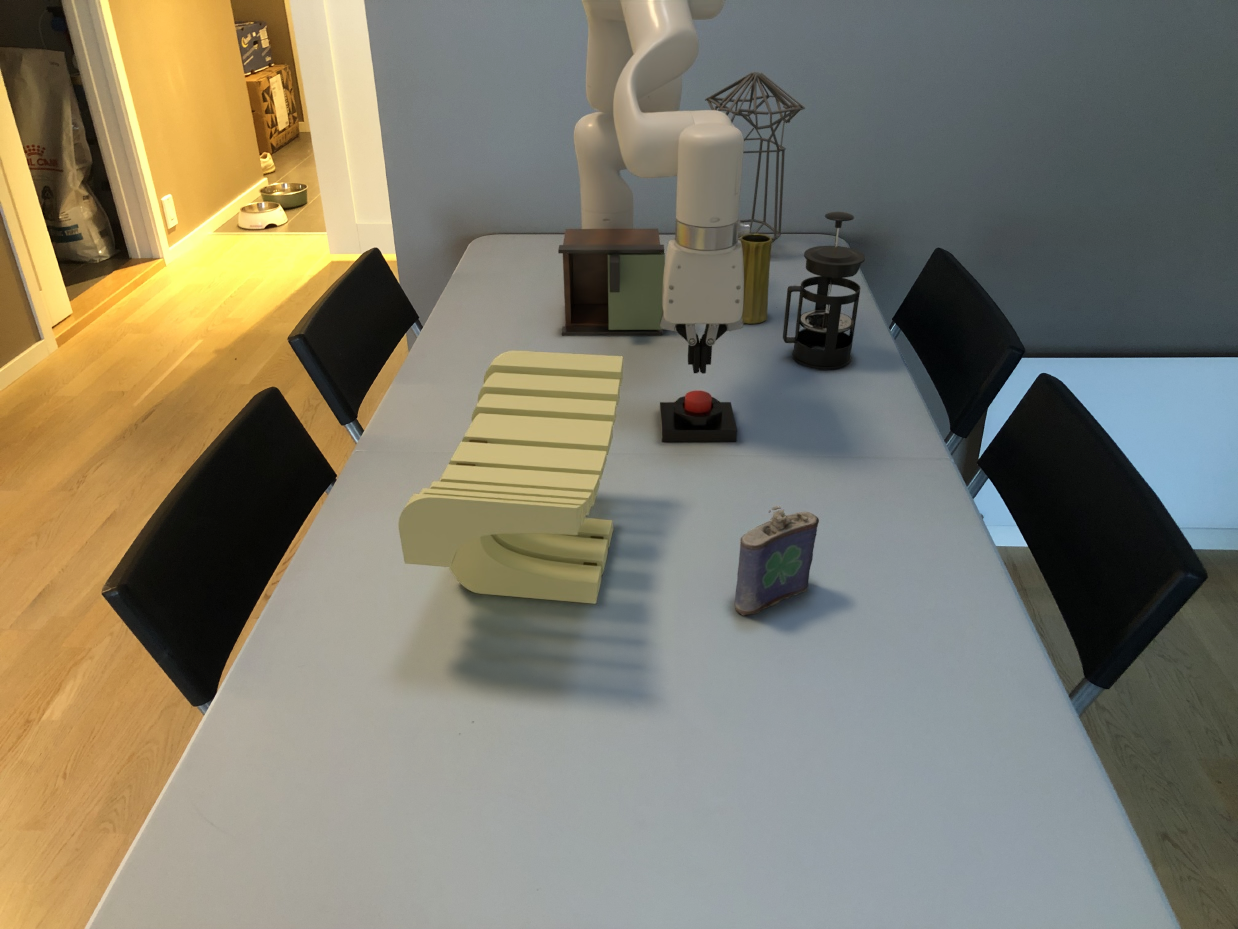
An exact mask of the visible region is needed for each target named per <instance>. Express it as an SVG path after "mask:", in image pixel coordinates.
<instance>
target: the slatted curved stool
mask: <svg viewBox="0 0 1238 929" xmlns="http://www.w3.org/2000/svg"><path fill="white" fill-rule="evenodd" d="M623 380H624V356H622V355H607V354H605V355H604V354H587V353H586V354H585V353H569V352H568V353H567V352H553V351H552V352H549V351H531V350H530V351H529V350H508V351H505V352H502V353H500V354H498V355H497V356H495V358H494V359H492V361H491V363H490V365H489V366H488V368H487V369H486V371H485V372H484V376H483V385H482V386H481V388H480V390H479V393H478V394H477V395H478V396H477V404H476V406H475V407H474V409H473V412H472V413H471V424H469V427H468V428H467V430H466V432H465V434H464V435H463V438H462V440H461V441H460V442H459V444H458V446H457V448H456V450H455V451H454V453H453V455H452V456H451V458H450V460H449V462H448V464H447V465H446V468H445V469H444V471H443V472H442V475H441V476H440V478H439V480H438V481H437V480H432V482H431V483H430V485H429V487H428V488H427V487H425V488H424V487H423V488H422V489H421V490H420V492H419V493H415V492H414V493H413V494H412V495H411V496H410V498H409V500H408V501H407V503H406V504H405V506H404V508H403V509H402V511H401V513H400V515H399V517H398V533H399V539H400V545H401V550H402V556H403V562H404V564H407V565H417V566H418V565H419V566H429V567H430V566H432V567H442V568H449V570H450V572H451V573H452V575H453V576H454V578H455V579H456V581H457V582H459V584H461V586H462V587H464V588H465V589H466V590H468V591H471V592H472V593H475V594H479V595H480V594H481V595H491V596H502V597H504V596H505V597H514V598H527V599H537V600H538V599H539V600H547V601H548V600H549V601H560V602H569V603H570V602H571V603H572V602H573V603H583V604H593V605H596V604H597V601H598V597H599V592H600V588H601V584H602V575H604V571H605V566H606V563H607V558H608V554H609V549H610V545H611V541H612V536H613V533H614V523H613V520H612V519H601V518H591V517H586V516H589V515H590V512H591V508H592V507H594V506H595V503H596V499H597V496H598V492H599V489H600V485H601V484H600V480H602V477H603V474H604V470H605V467H606V463H607V456H609V453H610V448H611V445H612V442H613V438H614V426H615V423H616V420H617V406H618V405H619V401H620V398H621V391H620V390H621V389H620V388H621V386H622V384H623Z"/></svg>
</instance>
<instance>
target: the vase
mask: <svg viewBox="0 0 1238 929" xmlns="http://www.w3.org/2000/svg"><path fill="white" fill-rule="evenodd" d="M739 239H740V241H741V244H742V251H743V267H744V301H743V313H742V320H743V324H748V325H755V324H761V323H763V322H765V321H767V319H768V306H769V286H770V285H769V284H770V267H771V266H770V265H771V257H772V256H771V253H772V244H773V243H772V239H771V236H770V235H767V234H765V233H759V232H757V233H755V232H754V233H753V232H752V233H751V232H750V234H749V235H743V236H741V237H740V238H739Z"/></svg>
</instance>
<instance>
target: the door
mask: <svg viewBox="0 0 1238 929" xmlns="http://www.w3.org/2000/svg"><path fill="white" fill-rule="evenodd" d="M665 258H666V253H665V252H664V253H608V315H609V330H662V331H663V330H664V329H662V328H661V327H660V319H661V315H662V312H663V307H662V289H663V276H664V266H665Z"/></svg>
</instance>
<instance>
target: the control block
mask: <svg viewBox="0 0 1238 929" xmlns="http://www.w3.org/2000/svg"><path fill="white" fill-rule="evenodd" d="M659 423H660V436H661V443H737V440H738V439H737V437H738V427H737V423H736V419H735V414H734V410H733V405H732V402H731V401H720V400H718V398H716V397H714V396H712V402H711V410H710V411H708V412H704V413H694V412H690V411H687V410H686V409H685V395H684V396H680V397H678V398H677V399H676V400H675V401H661V402H659Z"/></svg>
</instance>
